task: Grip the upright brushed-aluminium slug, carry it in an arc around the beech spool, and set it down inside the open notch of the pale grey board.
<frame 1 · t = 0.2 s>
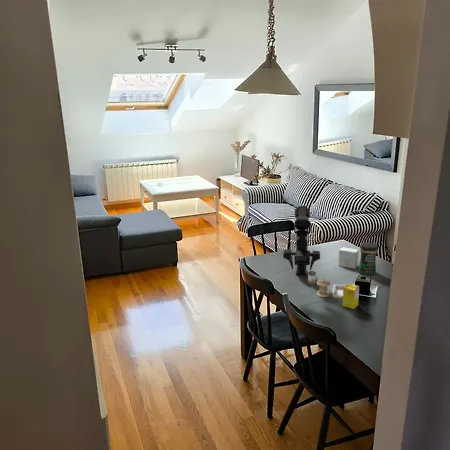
hand: (301, 269, 225), 14 cm above the table, fingers open, 9 cm apart
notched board: (344, 293, 227), on the table
supplement box: (350, 306, 214), on the table
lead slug: (311, 284, 240), on the table
coffee jar: (367, 273, 252), on the table
spool: (323, 294, 228), on the table
skincare box: (348, 265, 263), on the table
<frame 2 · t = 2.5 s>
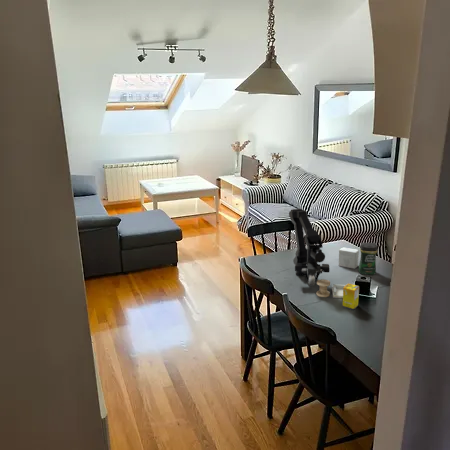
hand: (311, 281, 240), 2 cm above the table, fingers closed on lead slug, 4 cm apart
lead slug: (311, 284, 240), on the table, touching gripper
everything else where it was.
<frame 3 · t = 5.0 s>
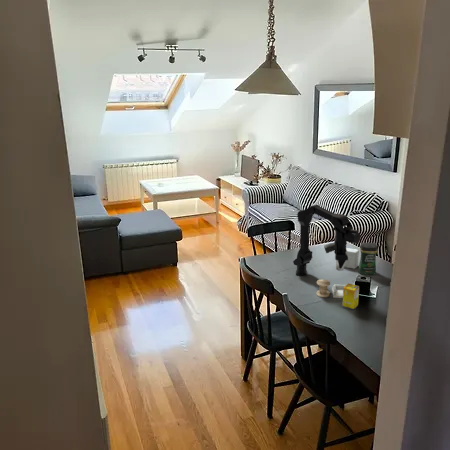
hand: (340, 266, 229), 13 cm above the table, fingers closed on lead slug, 4 cm apart
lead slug: (339, 269, 230), point 12 cm above the table, touching gripper
everything else where it was.
when the fingers open (4 cm above the table, at t = 7.3 s): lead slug drops 1 cm, resting on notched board.
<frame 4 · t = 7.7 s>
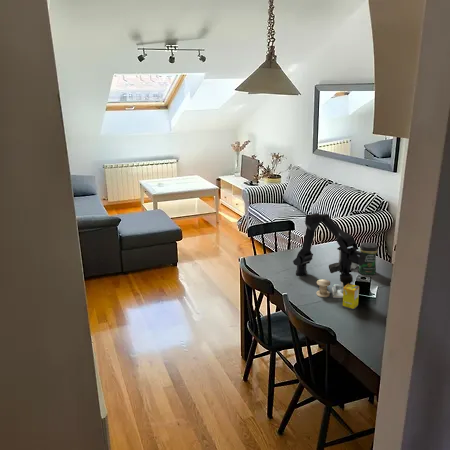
hand: (344, 286, 226), 4 cm above the table, fingers open, 9 cm apart
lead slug: (344, 291, 227), point 1 cm above the table, touching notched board
everything else where it was.
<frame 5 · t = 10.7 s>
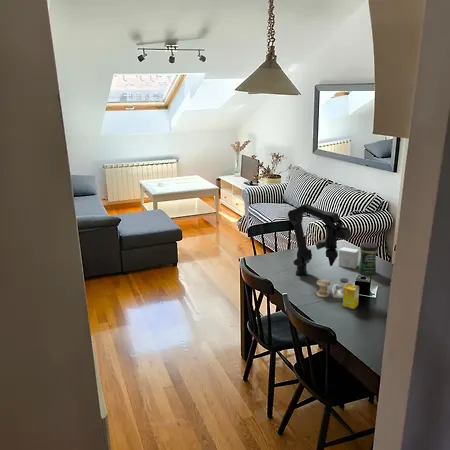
hand: (330, 262, 236), 13 cm above the table, fingers open, 9 cm apart
nothing on the table moved.
at the end: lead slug inside the target area on the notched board (0.8 cm from its centre), point 1.1 cm above the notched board's base; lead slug tilted 2°; the gripper is holding nothing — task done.
